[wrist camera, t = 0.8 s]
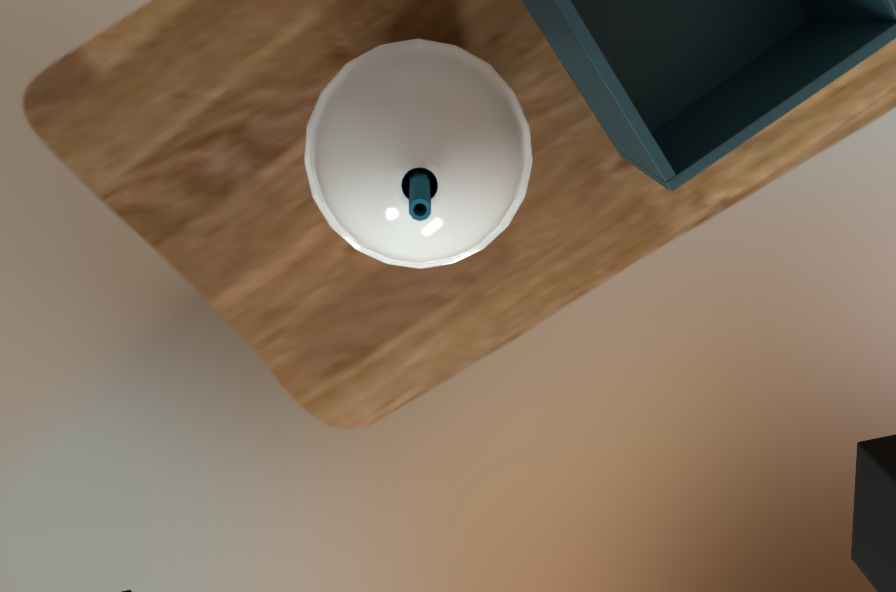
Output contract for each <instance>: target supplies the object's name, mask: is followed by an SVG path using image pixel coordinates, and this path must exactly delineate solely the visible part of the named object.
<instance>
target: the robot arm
mask: <svg viewBox="0 0 896 592" xmlns="http://www.w3.org/2000/svg"><path fill="white" fill-rule="evenodd" d="M856 460H857V461H856V477H855V495H854V496H855V497H854V514H853V531H852V549H851V559H852V560H853V561H854V563H855V564H856V565H857V566H858V568H859V569H860V570H861V571H862V573H863V574H864V575H865V576H866V578H867V579H868V580H869V581H870V583H871V584H872V585H873V586H874V588H875V589H876V590H877V591H878V592H896V435H891V436H886V437H881V438H877V439H871V440H866V441H861V442H858V443H857V459H856ZM122 592H131V590H127V591H122Z"/></svg>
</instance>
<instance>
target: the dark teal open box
mask: <svg viewBox="0 0 896 592" xmlns="http://www.w3.org/2000/svg"><path fill="white" fill-rule="evenodd" d="M522 1H523V2H524V4H525V6H526V7H527V9H528V10H529V12H530V13H531V15H532V17H533V18H534V20H535V21H536V23H537V25H538V26H539V28H540V29H541V31H542V32H543V34H544V36H545V37H546V39H547V40H548V42H549V43H550V45H551V47H552V48H553V50H554V51H555V53H556V54H557V56H558V58H559V59H560V61H561V62H562V64H563V65H564V67H565V69H566V70H567V72H568V73H569V75H570V77H571V78H572V80H573V81H574V83H575V84H576V86H577V88H578V89H579V91H580V92H581V94H582V95H583V97H584V99H585V100H586V102H587V103H588V105H589V106H590V108H591V110H592V111H593V113H594V114H595V116H596V118H597V119H598V121H599V122H600V124H601V125H602V127H603V129H604V130H605V132H606V133H607V135H608V136H609V138H610V140H611V141H612V143H613V144H614V146H615V147H616V149H617V151H618V152H619V154H620V155H621V157H622V158H623V159H625V160H626V161H628V162H629V163H631V164H632V165H634V166H635V167H636V168H638V169H639V170H641V171H642V172H644V173H645V174H647V175H648V176H650V177H651V178H652V179H654V180H655V181H657V182H658V183H660V184H661V185H663V186H664V187H665V188H667V189H668V190H670V191H674V190H675V189H677V188H678V187H679V186H681V185H682V184H684V183H685V182H687V181H688V180H690V179H691V178H693V177H694V176H696V175H697V174H698V173H700V172H701V171H703V170H704V169H706V168H707V167H709V166H710V165H712V164H713V163H714V162H716V161H717V160H719V159H720V158H722V157H723V156H725V155H726V154H728V153H729V152H731V151H732V150H733V149H735V148H736V147H738V146H739V145H741V144H742V143H744V142H745V141H747V140H748V139H749V138H751V137H752V136H754V135H755V134H757V133H758V132H760V131H761V130H763V129H764V128H765V127H767V126H768V125H770V124H771V123H773V122H774V121H776V120H777V119H779V118H780V117H782V116H783V115H784V114H786V113H787V112H789V111H790V110H792V109H793V108H795V107H796V106H798V105H799V104H800V103H802V102H803V101H805V100H806V99H808V98H809V97H811V96H812V95H814V94H815V93H817V92H818V91H819V90H821V89H822V88H824V87H825V86H827V85H828V84H830V83H831V82H833V81H834V80H835V79H837V78H838V77H840V76H841V75H843V74H844V73H846V72H847V71H849V70H850V69H852V68H853V67H854V66H856V65H857V64H859V63H860V62H862V61H863V60H865V59H866V58H868V57H869V56H870V55H872V54H873V53H875V52H876V51H878V50H879V49H881V48H882V47H884V46H885V45H887V44H888V43H889V42H891V41H892V40H894V39H895V38H896V0H522Z"/></svg>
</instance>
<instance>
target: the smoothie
mask: <svg viewBox="0 0 896 592" xmlns="http://www.w3.org/2000/svg"><path fill="white" fill-rule="evenodd" d="M532 164H533V156H532V145H531V134H530V125H529V123H528V121H527V119H526V116H525V114H524V112H523V110H522V107H521V105H520V103H519V100H518V98H517V96H516V94H515V92H514V91H513V90H512V88H511V87H510V86H509V85H508V84H507V83H506V82H505V81H504V79H503V78H502V77H501V76H500V75H499V74H498V73H497V72H496V70H495V69H494V68H493V67H492V66H491V65H490V64H489V63H487V62H485V61H483V60H482V59H480V58H478V57H476V56H474V55H473V54H471V53H469V52H467V51H465V50H464V49H462V48H460V47H458V46H456V45H451V44H446V43H441V42H435V41H430V40H424V39H419V38H418V39H412V40H406V41H400V42H394V43H388V44H382V45H379V46H377V47H375V48H373V49H371V50H370V51H368V52H366V53H364V54H362V55H360V56H358V57H357V58H355V59H353V60H351V61H349V62H347V63H346V64H345V65H344V66H343V67H342V69H341V70H340V71H339V72H338V73H337V74H336V75H335V76H334V77H333V79H332V80H331V81H330V82H329V83H328V84H327V85H326V86H325V88H324V89H323V90H322V91H321V93H320V95H319V98H318V100H317V102H316V105H315V107H314V109H313V111H312V114H311V116H310V118H309V121H308V123H307V126H306V139H305V152H304V165H305V169H306V173H307V178H308V182H309V186H310V190H311V194H312V198H313V199H314V201H315V202H316V204H317V206H318V207H319V209H320V211H321V212H322V214H323V216H324V217H325V219H326V221H327V222H328V224H329V225H330V227H331V228H332V229H333V230H334V231H336V232H337V233H338V234H339V235H340V236H341V237H342V238H343V239H344V240H346V241H347V242H348V243H349V244H350V245H351V246H352V247H353V248H354V249H356V250H357V251H359V252H362V253H364V254H366V255H368V256H370V257H373V258H375V259H377V260H379V261H381V262H384V263H386V264H390V265H397V266H404V267H411V268H418V269H422V268H429V267H435V266H441V265H448V264H453V263H456V262H458V261H460V260H462V259H464V258H466V257H468V256H470V255H472V254H474V253H477V252H479V251H481V250H483V249H484V248H485V247H486V246H487V245H489V244H490V243H491V242H492V241H493V240H494V239H495V238H496V237H497V236H498V235H499V234H500V233H501V232H502V231H504V230H505V229H506V228H507V227H508V226H509V224H510V222H511V221H512V219H513V217H514V215H515V214H516V212H517V210H518V208H519V207H520V205H521V203H522V202H523V200H524V198H525V196H526V192H527V187H528V183H529V178H530V174H531V169H532Z"/></svg>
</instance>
